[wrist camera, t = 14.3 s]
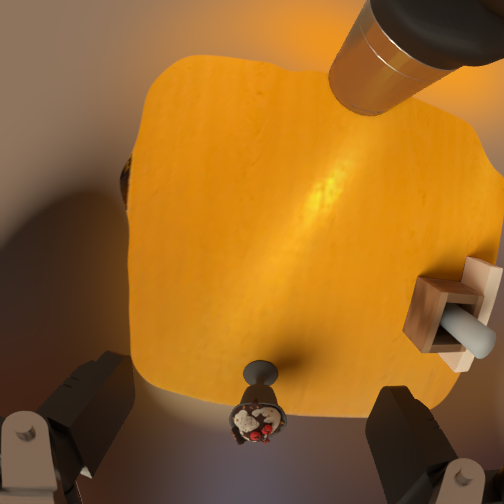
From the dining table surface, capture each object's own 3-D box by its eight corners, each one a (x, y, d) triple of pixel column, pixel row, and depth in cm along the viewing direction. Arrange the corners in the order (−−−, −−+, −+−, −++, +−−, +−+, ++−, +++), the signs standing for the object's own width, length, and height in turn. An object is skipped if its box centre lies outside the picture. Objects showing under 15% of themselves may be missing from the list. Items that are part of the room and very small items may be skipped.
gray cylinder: (434, 295, 35) (481, 331, 23) (451, 297, 35) (499, 330, 23) (426, 318, 36) (470, 359, 24) (444, 319, 36) (488, 357, 24)
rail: (466, 256, 34) (490, 266, 29) (479, 258, 34) (503, 268, 28) (437, 353, 38) (454, 372, 32) (450, 352, 38) (467, 371, 32)
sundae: (284, 354, 39) (290, 431, 24) (283, 391, 40) (286, 468, 25) (236, 354, 39) (221, 430, 24) (238, 391, 40) (226, 467, 26)
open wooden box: (417, 276, 35) (441, 292, 29) (459, 281, 35) (484, 296, 29) (402, 330, 37) (421, 353, 31) (444, 331, 37) (465, 351, 30)
